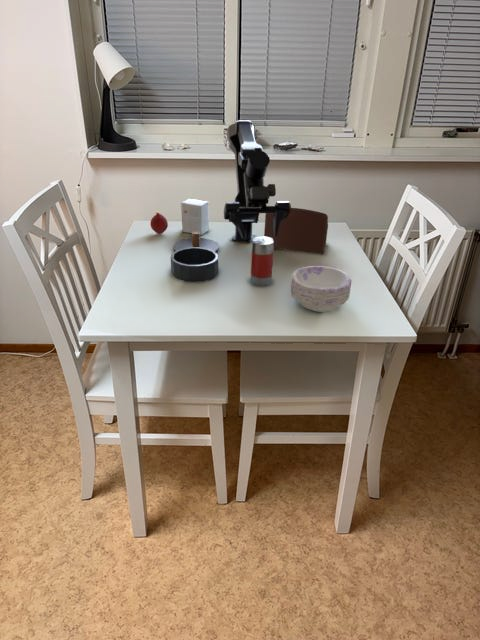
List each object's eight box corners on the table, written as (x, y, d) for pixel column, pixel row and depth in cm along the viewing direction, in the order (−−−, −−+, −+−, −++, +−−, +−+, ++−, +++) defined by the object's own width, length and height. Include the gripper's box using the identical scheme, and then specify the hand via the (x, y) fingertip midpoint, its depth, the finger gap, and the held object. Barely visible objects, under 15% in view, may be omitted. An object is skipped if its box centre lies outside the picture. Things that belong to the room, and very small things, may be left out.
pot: (184, 259, 151) (183, 244, 148) (224, 266, 147) (225, 251, 145) (163, 277, 140) (162, 261, 137) (206, 285, 136) (206, 269, 133)
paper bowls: (313, 285, 138) (316, 259, 134) (358, 304, 129) (363, 277, 125) (277, 302, 129) (279, 275, 124) (323, 324, 119) (327, 296, 115)
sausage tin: (254, 275, 142) (256, 235, 136) (274, 279, 141) (277, 238, 134) (247, 284, 137) (248, 242, 131) (268, 288, 136) (270, 246, 129)
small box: (209, 230, 173) (209, 201, 168) (201, 235, 169) (201, 205, 164) (189, 226, 176) (188, 198, 171) (181, 231, 172) (180, 202, 166)
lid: (185, 238, 166) (185, 222, 164) (225, 244, 162) (225, 228, 159) (165, 253, 155) (164, 236, 152) (207, 261, 150) (207, 244, 148)
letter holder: (323, 254, 157) (328, 212, 150) (263, 247, 161) (265, 206, 154) (326, 243, 165) (331, 202, 158) (268, 237, 169) (271, 197, 162)
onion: (169, 231, 171) (168, 209, 167) (166, 237, 166) (164, 215, 162) (153, 230, 172) (152, 208, 168) (149, 236, 167) (147, 214, 163)
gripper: (225, 173, 132) (229, 226, 128) (292, 172, 135) (298, 224, 131) (221, 193, 143) (225, 243, 139) (284, 192, 145) (289, 241, 142)
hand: (259, 237), depth 137 cm, fingers open, 9 cm apart
